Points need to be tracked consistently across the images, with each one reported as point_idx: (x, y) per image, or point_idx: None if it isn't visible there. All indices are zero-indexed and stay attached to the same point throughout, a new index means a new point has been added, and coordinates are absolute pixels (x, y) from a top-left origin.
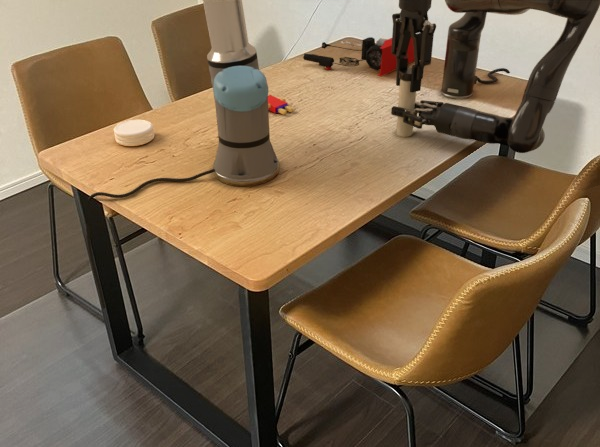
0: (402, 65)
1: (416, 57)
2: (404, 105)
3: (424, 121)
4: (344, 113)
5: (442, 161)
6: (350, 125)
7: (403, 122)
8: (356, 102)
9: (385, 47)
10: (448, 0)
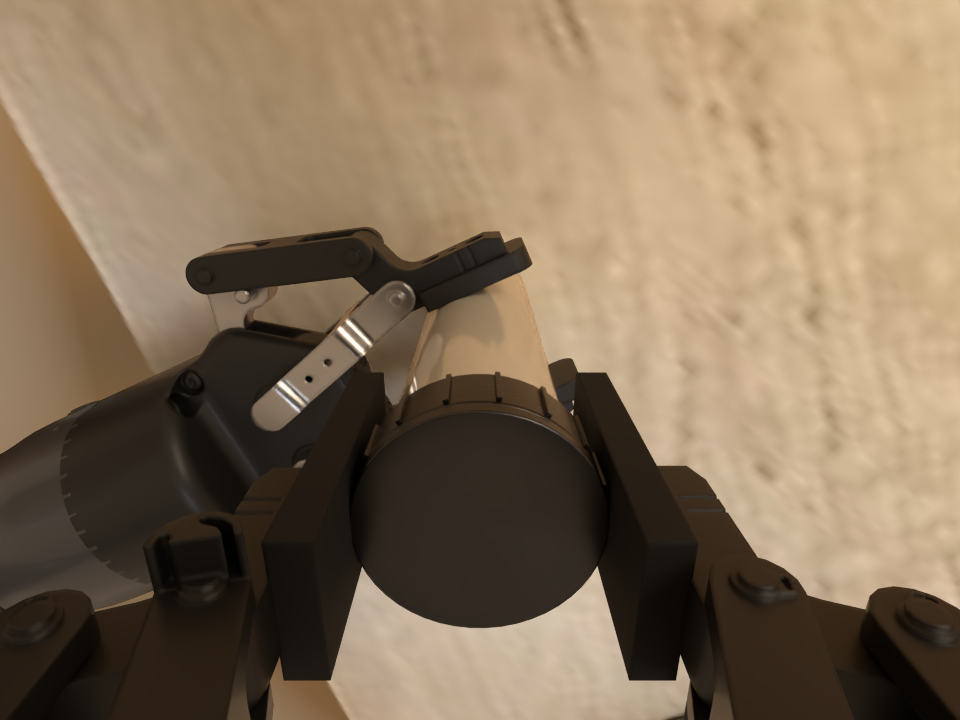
0: (617, 538)
1: (144, 699)
2: (441, 314)
3: (211, 303)
4: (942, 172)
5: (87, 244)
6: (773, 86)
7: None
8: None
9: None
10: None
